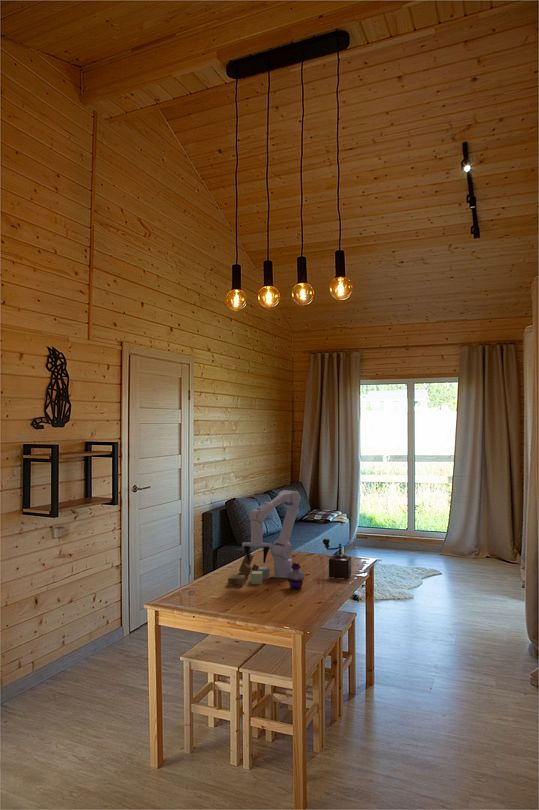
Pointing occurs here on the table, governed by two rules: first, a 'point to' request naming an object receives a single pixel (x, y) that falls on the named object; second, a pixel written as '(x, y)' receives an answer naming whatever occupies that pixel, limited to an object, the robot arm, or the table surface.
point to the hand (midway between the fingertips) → (256, 562)
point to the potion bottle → (295, 576)
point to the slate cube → (264, 572)
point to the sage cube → (256, 577)
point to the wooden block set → (247, 566)
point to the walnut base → (237, 580)
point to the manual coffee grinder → (338, 563)
